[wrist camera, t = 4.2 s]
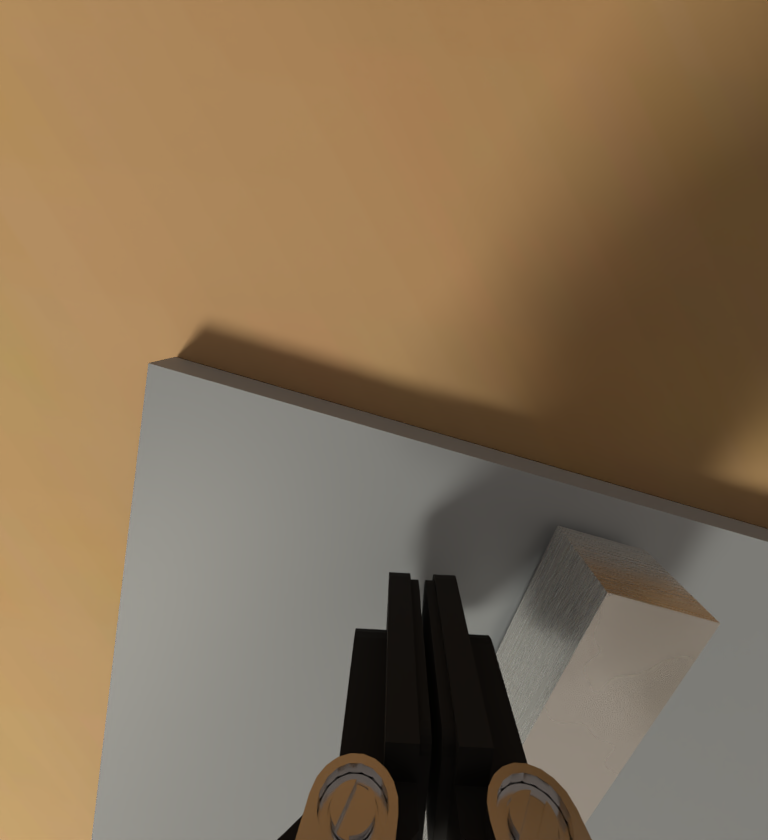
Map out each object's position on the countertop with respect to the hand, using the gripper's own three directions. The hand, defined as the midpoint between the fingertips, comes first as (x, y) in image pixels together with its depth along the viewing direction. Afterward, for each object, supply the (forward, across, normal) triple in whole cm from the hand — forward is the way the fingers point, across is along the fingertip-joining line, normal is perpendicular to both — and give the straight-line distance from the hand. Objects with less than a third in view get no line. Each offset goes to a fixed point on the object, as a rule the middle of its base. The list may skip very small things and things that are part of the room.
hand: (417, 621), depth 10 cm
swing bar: (+1, -3, +6) cm, 6 cm away
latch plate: (+2, -3, +12) cm, 13 cm away
